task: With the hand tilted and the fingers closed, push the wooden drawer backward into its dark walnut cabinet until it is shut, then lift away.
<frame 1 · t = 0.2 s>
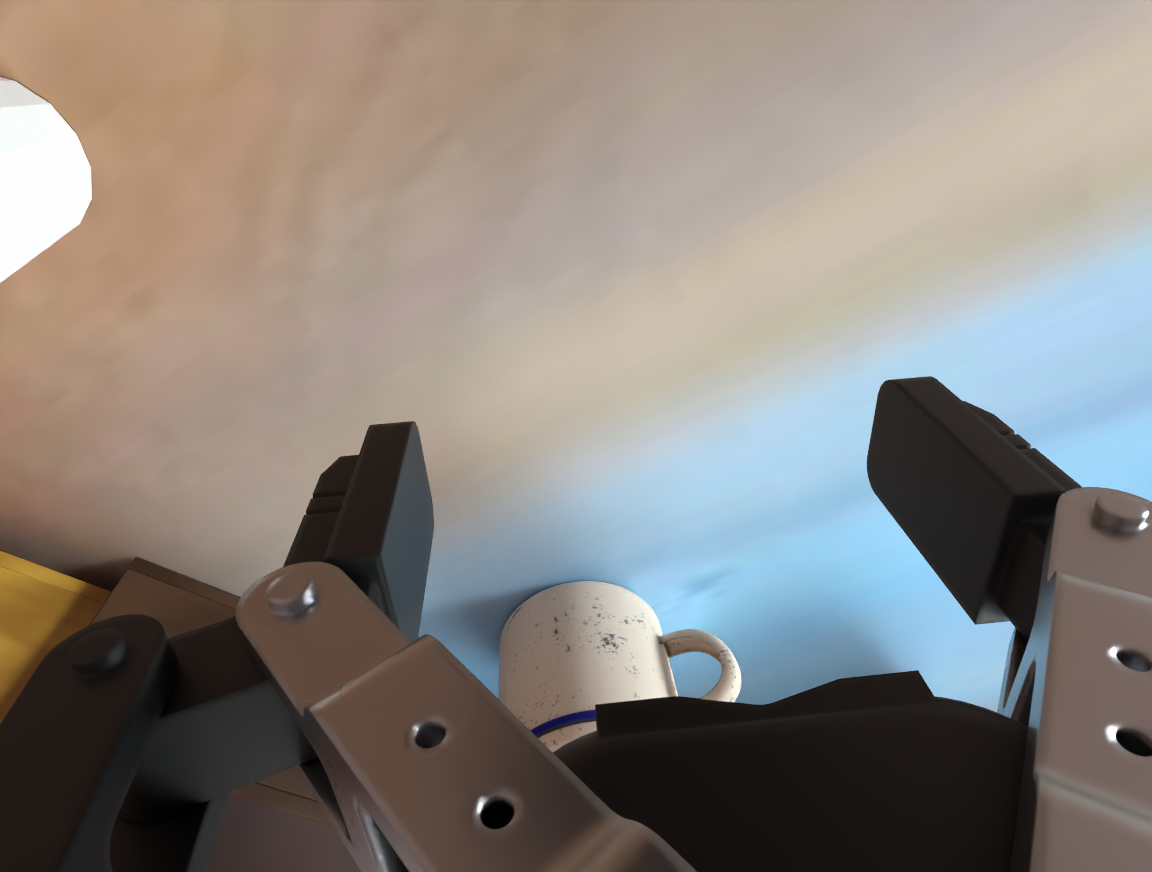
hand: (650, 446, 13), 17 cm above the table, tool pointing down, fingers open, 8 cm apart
cabinet: (234, 693, 39), on the table
teacup with lid: (604, 626, 39), on the table
white faceted cylinder: (7, 160, 25), on the table
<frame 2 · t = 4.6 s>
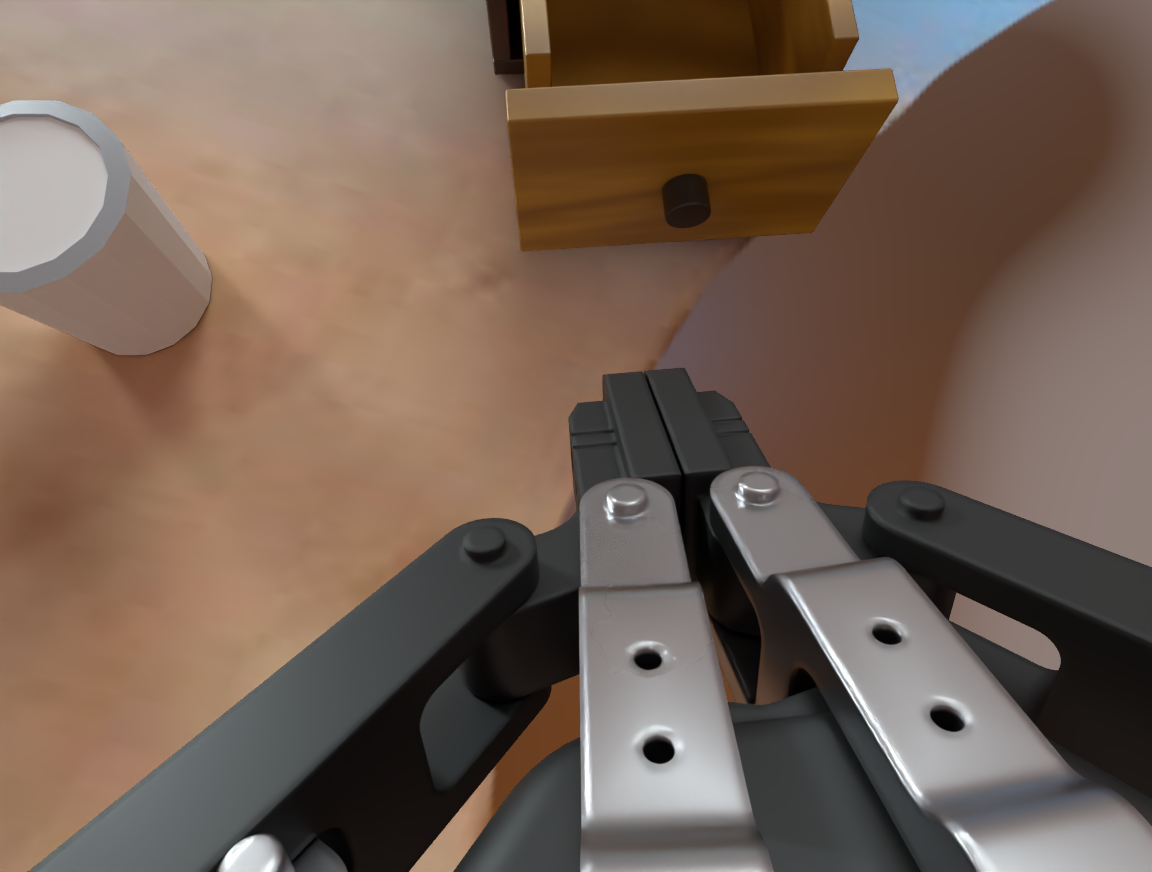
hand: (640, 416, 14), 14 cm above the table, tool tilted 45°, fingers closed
wooden drawer: (664, 41, 27), point 5 cm above the table, slide at 8.0 cm
white faceted cylinder: (144, 292, 29), on the table
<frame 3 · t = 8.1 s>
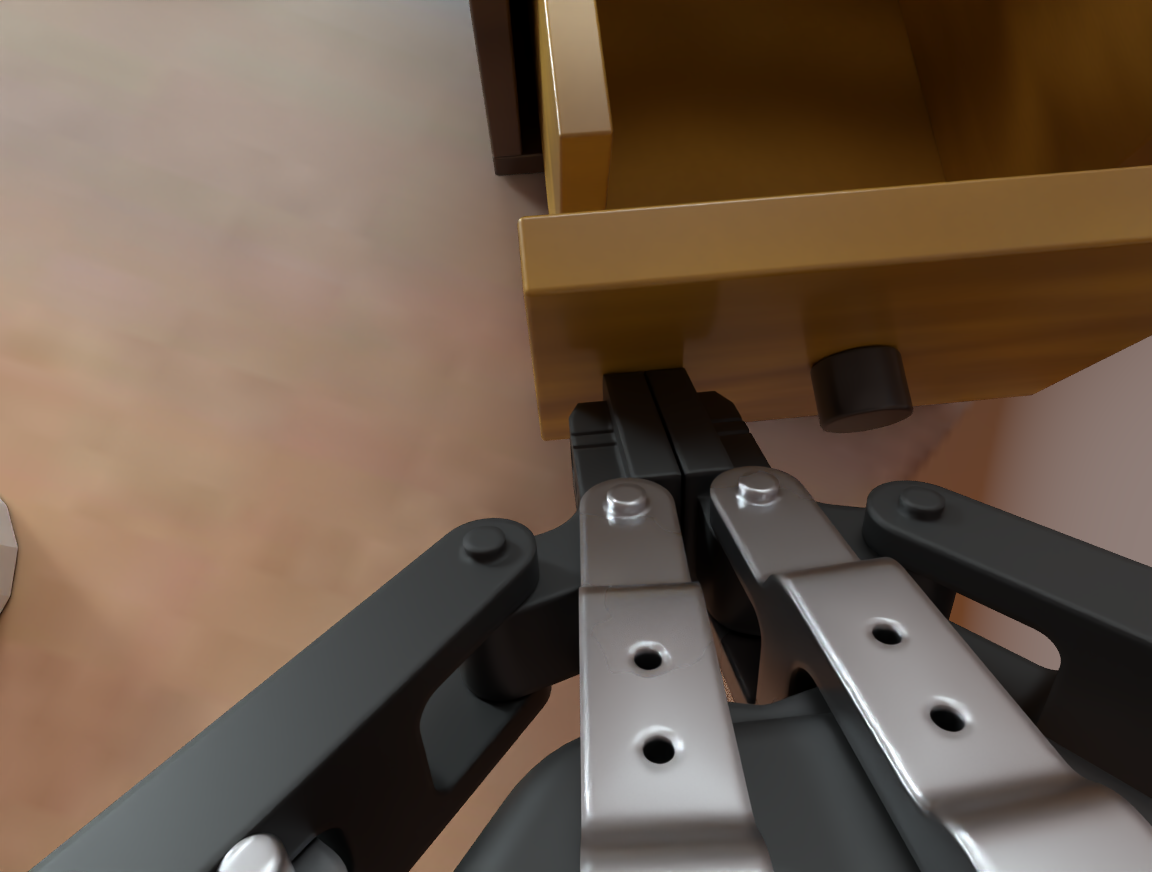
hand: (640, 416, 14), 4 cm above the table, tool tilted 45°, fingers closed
wooden drawer: (795, 83, 15), point 5 cm above the table, slide at 6.6 cm, touching gripper
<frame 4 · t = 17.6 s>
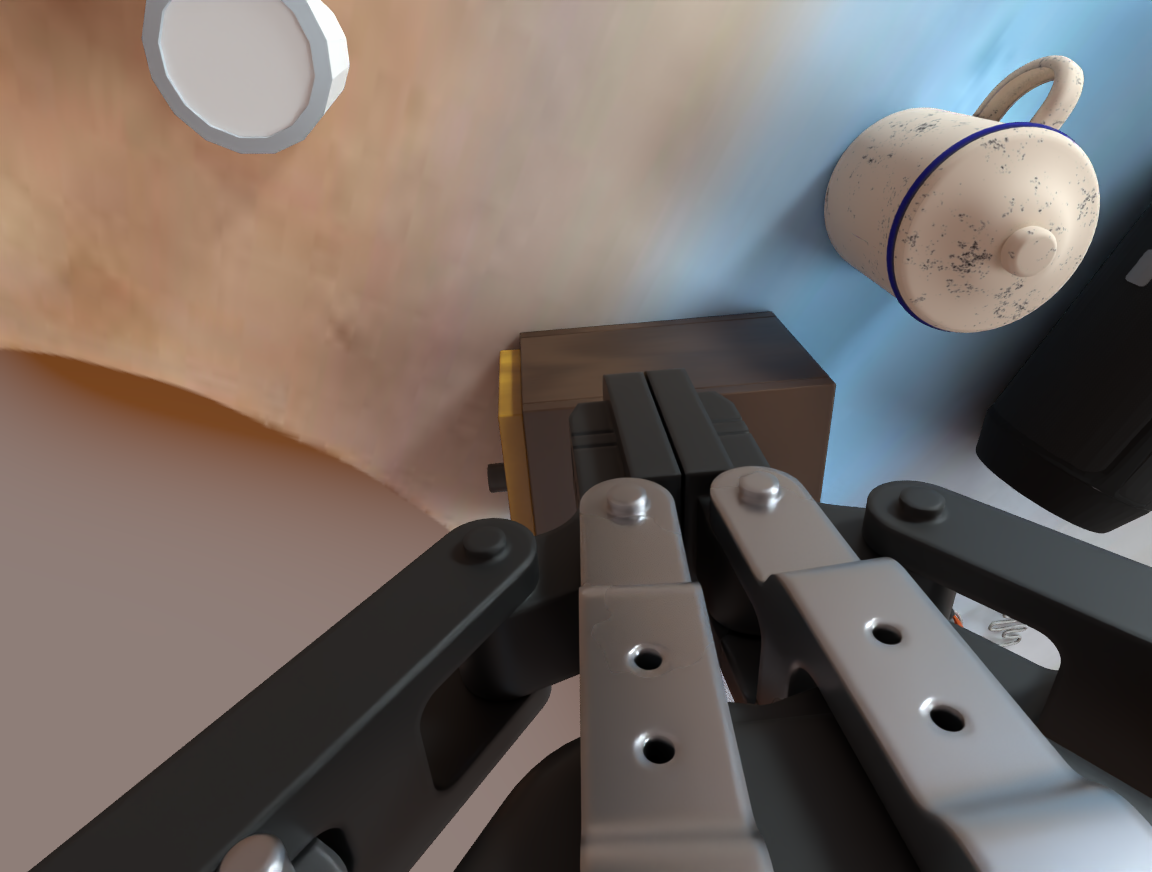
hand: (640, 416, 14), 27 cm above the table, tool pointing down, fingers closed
portable speaker: (1130, 269, 43), on the table
wooden drawer: (620, 466, 41), point 5 cm above the table, slide at 0.0 cm
cabinet: (647, 421, 45), on the table
headphones: (906, 632, 56), on the table
teacup with lid: (915, 167, 39), on the table
white faceted cylinder: (288, 51, 34), on the table
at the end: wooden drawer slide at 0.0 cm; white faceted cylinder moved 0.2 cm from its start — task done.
